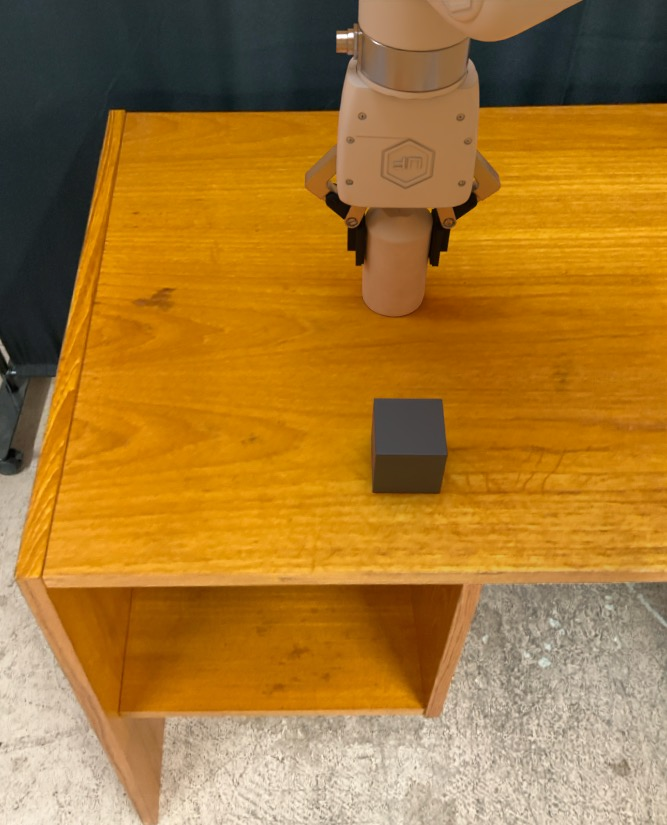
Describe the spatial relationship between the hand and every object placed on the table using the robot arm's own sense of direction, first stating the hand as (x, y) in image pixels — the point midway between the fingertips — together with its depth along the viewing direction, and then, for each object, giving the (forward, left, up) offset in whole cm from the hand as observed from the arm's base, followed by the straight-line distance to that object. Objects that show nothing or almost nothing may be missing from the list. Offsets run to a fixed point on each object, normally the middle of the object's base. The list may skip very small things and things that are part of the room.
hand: (396, 253), depth 69 cm
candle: (0, 0, -5) cm, 5 cm away
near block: (-5, +17, -5) cm, 19 cm away
